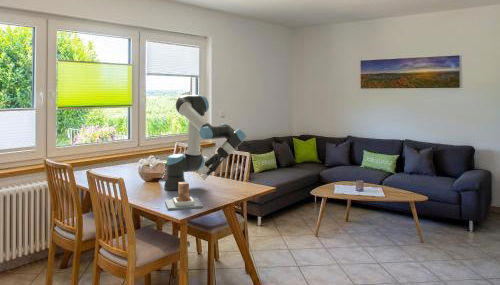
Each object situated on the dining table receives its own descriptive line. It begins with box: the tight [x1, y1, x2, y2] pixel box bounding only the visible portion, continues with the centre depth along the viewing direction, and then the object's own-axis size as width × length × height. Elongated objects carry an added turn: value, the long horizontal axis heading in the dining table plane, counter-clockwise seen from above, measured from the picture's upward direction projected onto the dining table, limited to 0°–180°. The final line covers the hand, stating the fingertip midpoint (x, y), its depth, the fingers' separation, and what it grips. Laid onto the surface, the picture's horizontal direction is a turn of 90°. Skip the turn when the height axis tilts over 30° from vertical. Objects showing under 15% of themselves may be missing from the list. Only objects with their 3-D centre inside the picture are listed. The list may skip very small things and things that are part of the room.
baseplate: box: [164, 196, 204, 211], centre depth 239 cm, size 20×18×3 cm
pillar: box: [177, 181, 190, 202], centre depth 239 cm, size 6×6×12 cm
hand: (200, 176), depth 240 cm, fingers open, 13 cm apart
